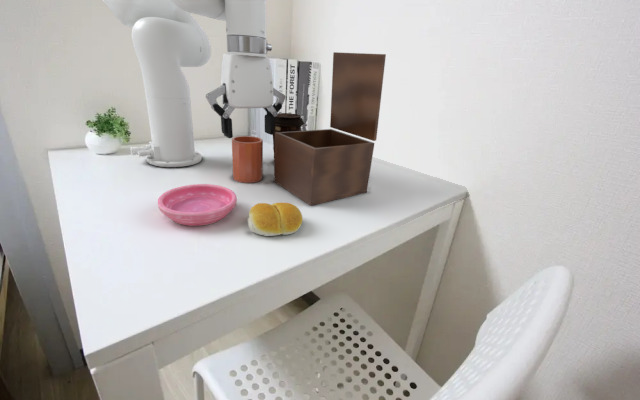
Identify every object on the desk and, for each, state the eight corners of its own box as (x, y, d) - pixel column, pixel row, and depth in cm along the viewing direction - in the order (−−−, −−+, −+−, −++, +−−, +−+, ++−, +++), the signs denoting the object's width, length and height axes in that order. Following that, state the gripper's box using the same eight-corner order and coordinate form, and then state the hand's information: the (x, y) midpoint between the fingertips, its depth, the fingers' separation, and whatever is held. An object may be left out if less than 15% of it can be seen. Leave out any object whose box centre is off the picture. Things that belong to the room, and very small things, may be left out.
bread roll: (308, 234, 50) (310, 212, 48) (253, 241, 47) (252, 217, 45) (293, 212, 57) (294, 192, 55) (244, 216, 53) (243, 195, 52)
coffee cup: (304, 161, 87) (307, 114, 82) (299, 170, 80) (302, 119, 74) (273, 157, 88) (275, 111, 82) (266, 166, 80) (267, 115, 75)
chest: (310, 205, 60) (315, 149, 55) (273, 181, 70) (274, 132, 66) (366, 192, 69) (374, 142, 64) (326, 172, 79) (331, 128, 75)
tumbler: (240, 184, 67) (239, 144, 63) (228, 175, 72) (227, 137, 68) (267, 180, 71) (267, 141, 67) (254, 171, 75) (254, 135, 72)
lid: (383, 54, 57) (401, 54, 60) (333, 52, 67) (350, 52, 70) (373, 141, 64) (390, 137, 67) (330, 127, 74) (346, 124, 77)
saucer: (250, 217, 53) (250, 200, 52) (177, 239, 45) (175, 220, 44) (216, 194, 61) (215, 179, 60) (149, 209, 53) (146, 192, 52)
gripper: (276, 51, 68) (275, 129, 75) (195, 44, 58) (203, 134, 65) (294, 51, 63) (292, 135, 69) (209, 43, 53) (216, 142, 59)
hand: (249, 135), depth 67 cm, fingers open, 9 cm apart
